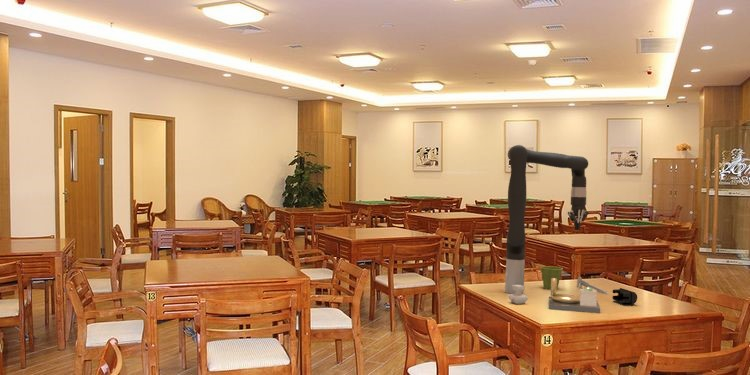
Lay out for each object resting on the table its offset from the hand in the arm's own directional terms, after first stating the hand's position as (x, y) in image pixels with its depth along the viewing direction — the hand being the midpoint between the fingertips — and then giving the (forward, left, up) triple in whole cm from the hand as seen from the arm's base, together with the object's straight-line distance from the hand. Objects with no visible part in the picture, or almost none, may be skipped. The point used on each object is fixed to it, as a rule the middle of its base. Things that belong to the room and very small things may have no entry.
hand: (577, 230), depth 324 cm
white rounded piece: (-27, -33, -33) cm, 54 cm away
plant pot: (-12, +13, -33) cm, 38 cm away
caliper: (+9, +16, -34) cm, 38 cm away
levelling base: (-2, -31, -33) cm, 45 cm away
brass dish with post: (-5, -28, -31) cm, 42 cm away
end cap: (+22, -14, -33) cm, 42 cm away
